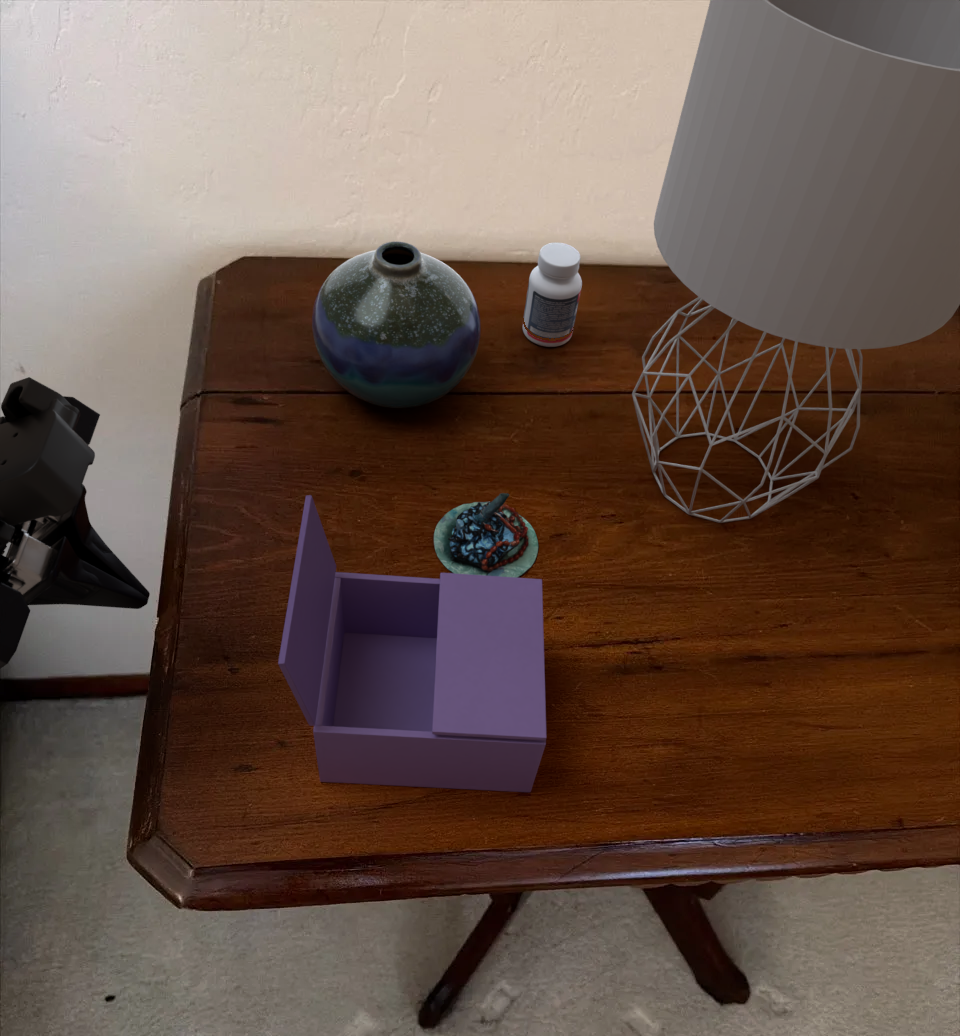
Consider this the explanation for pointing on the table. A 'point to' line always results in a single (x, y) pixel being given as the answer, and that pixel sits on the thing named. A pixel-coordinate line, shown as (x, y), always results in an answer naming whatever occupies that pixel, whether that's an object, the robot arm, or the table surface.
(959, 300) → the table lamp
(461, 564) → the dish
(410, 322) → the vase
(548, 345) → the pill bottle
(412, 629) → the file box
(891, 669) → the table surface
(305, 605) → the flap
